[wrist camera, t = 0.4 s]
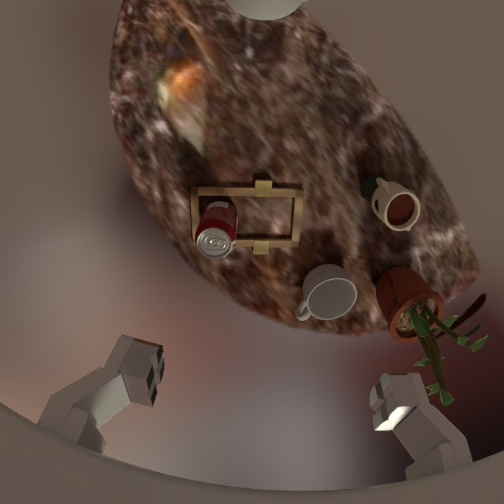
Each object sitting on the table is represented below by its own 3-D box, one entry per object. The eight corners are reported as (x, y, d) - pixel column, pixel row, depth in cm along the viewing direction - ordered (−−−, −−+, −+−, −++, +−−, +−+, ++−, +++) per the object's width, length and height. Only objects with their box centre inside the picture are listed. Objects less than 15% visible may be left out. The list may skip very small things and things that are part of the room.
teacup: (336, 249, 61) (347, 269, 54) (353, 285, 65) (364, 306, 58) (278, 278, 64) (282, 301, 57) (300, 311, 68) (305, 334, 61)
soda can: (205, 196, 55) (195, 220, 45) (240, 203, 56) (239, 228, 45) (201, 229, 58) (190, 258, 48) (234, 234, 59) (231, 265, 48)
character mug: (345, 177, 54) (371, 198, 42) (374, 156, 51) (405, 172, 40) (372, 218, 58) (398, 247, 46) (398, 199, 55) (429, 224, 44)
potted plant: (385, 309, 69) (440, 423, 38) (350, 277, 64) (409, 408, 33) (435, 264, 63) (515, 364, 32) (405, 224, 58) (504, 330, 27)
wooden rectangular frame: (190, 178, 53) (189, 180, 52) (303, 180, 54) (304, 182, 53) (194, 250, 61) (193, 253, 59) (296, 252, 61) (297, 254, 60)
